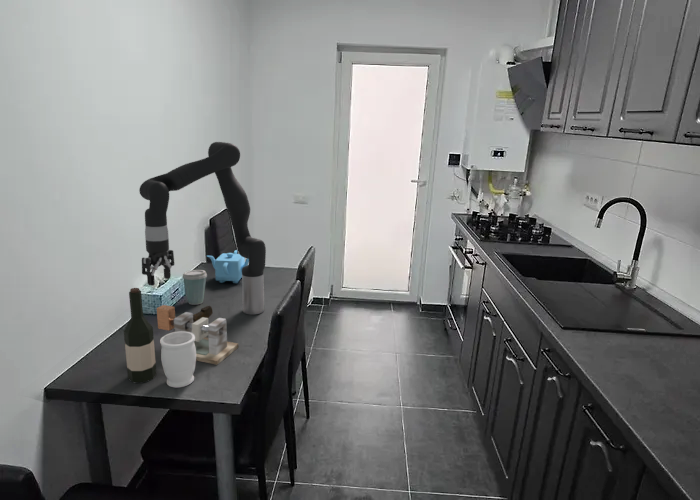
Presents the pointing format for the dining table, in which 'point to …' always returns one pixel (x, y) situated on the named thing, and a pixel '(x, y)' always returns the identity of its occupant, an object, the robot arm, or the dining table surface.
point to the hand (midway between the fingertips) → (159, 281)
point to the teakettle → (229, 266)
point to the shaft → (171, 319)
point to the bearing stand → (209, 339)
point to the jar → (178, 358)
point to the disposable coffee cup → (195, 286)
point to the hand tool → (203, 313)
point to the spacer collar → (199, 328)
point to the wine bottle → (139, 342)
